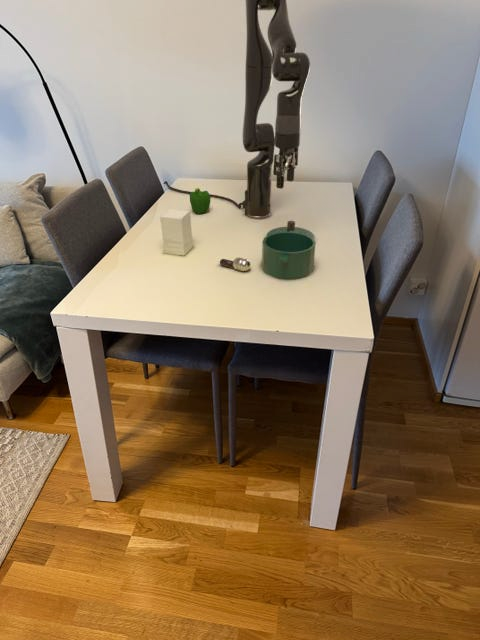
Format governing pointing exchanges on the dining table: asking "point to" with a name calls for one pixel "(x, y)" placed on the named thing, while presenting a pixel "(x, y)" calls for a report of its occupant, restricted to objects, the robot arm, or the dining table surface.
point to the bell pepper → (200, 201)
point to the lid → (291, 229)
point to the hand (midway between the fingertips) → (285, 184)
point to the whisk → (236, 264)
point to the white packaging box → (176, 232)
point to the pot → (288, 255)
